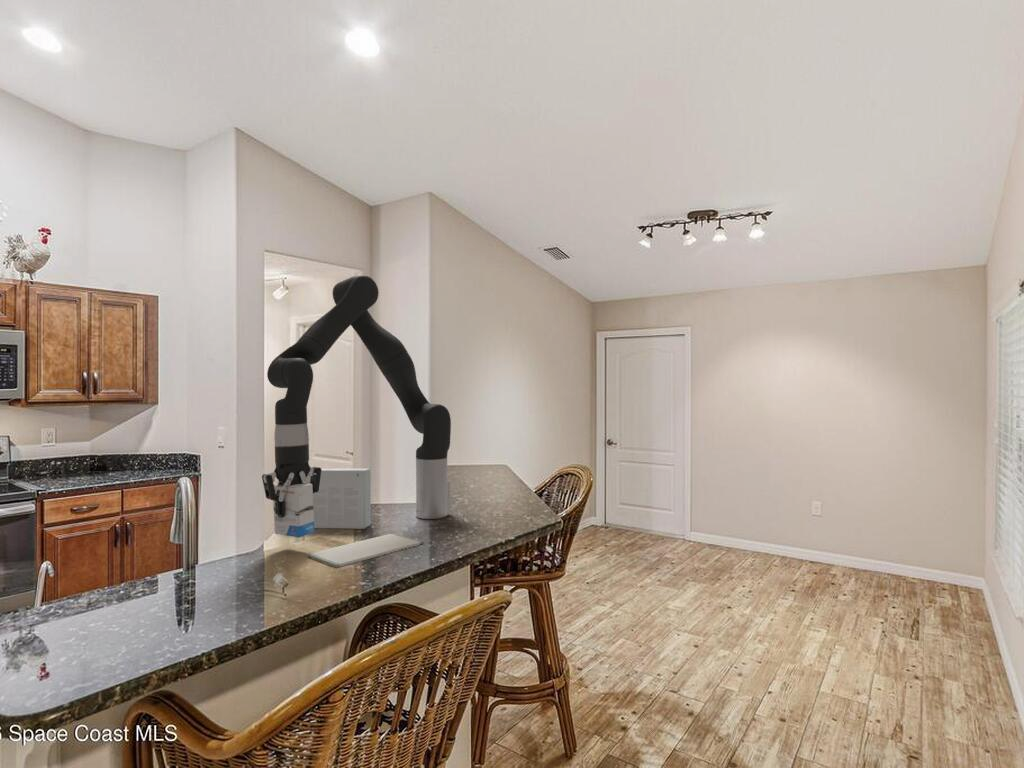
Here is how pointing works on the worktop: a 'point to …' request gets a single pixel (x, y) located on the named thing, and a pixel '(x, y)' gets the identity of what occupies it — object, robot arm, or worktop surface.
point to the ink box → (296, 511)
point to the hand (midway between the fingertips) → (293, 514)
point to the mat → (364, 549)
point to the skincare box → (343, 498)
